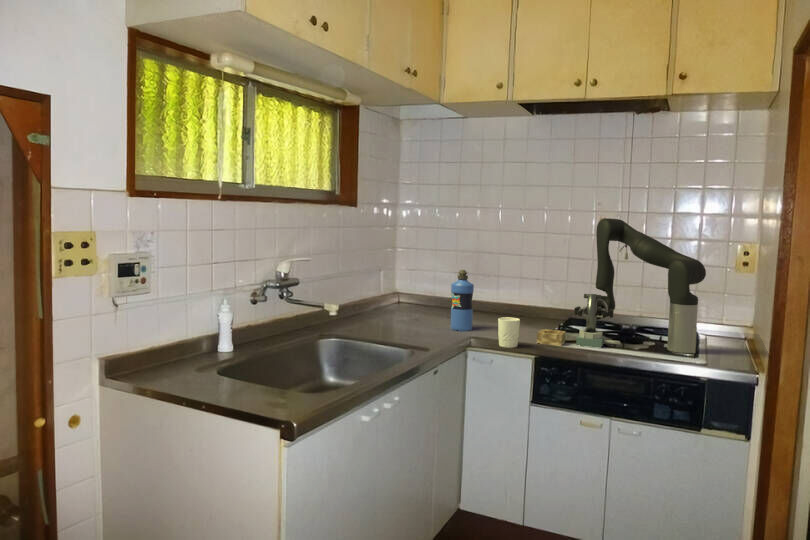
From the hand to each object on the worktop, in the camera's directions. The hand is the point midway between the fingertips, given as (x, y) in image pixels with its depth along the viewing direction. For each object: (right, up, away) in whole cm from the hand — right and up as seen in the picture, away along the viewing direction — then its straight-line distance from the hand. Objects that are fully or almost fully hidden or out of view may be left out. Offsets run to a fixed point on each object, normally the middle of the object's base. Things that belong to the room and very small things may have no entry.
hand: (591, 314), depth 227 cm
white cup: (-32, -11, -3) cm, 34 cm away
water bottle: (-46, -8, +28) cm, 55 cm away
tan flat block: (-14, -11, +4) cm, 18 cm away
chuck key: (0, -8, +1) cm, 8 cm away
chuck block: (+3, -12, 0) cm, 12 cm away
